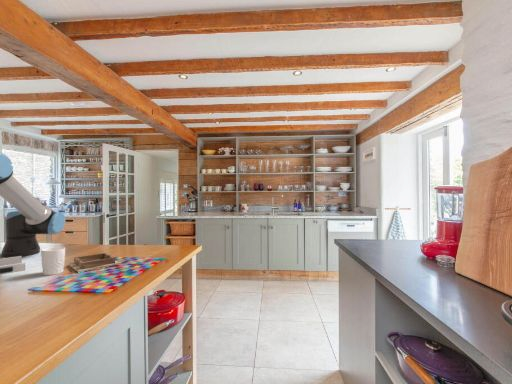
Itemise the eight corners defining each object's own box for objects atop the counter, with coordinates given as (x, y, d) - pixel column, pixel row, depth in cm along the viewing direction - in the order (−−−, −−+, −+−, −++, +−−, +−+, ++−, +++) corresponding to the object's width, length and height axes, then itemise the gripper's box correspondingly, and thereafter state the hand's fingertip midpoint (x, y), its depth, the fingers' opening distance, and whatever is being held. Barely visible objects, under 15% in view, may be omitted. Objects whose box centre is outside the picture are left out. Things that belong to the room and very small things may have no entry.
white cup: (37, 274, 105) (37, 249, 105) (59, 268, 112) (59, 245, 112) (46, 277, 101) (47, 251, 101) (69, 271, 108) (69, 248, 108)
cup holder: (69, 265, 117) (69, 257, 117) (108, 258, 129) (108, 251, 129) (78, 273, 106) (78, 264, 106) (119, 265, 118) (119, 257, 118)
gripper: (-60, 277, 93) (20, 265, 108) (-70, 298, 76) (26, 280, 91) (-60, 257, 93) (20, 248, 108) (-70, 273, 75) (26, 259, 91)
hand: (23, 262), depth 100 cm, fingers open, 13 cm apart
